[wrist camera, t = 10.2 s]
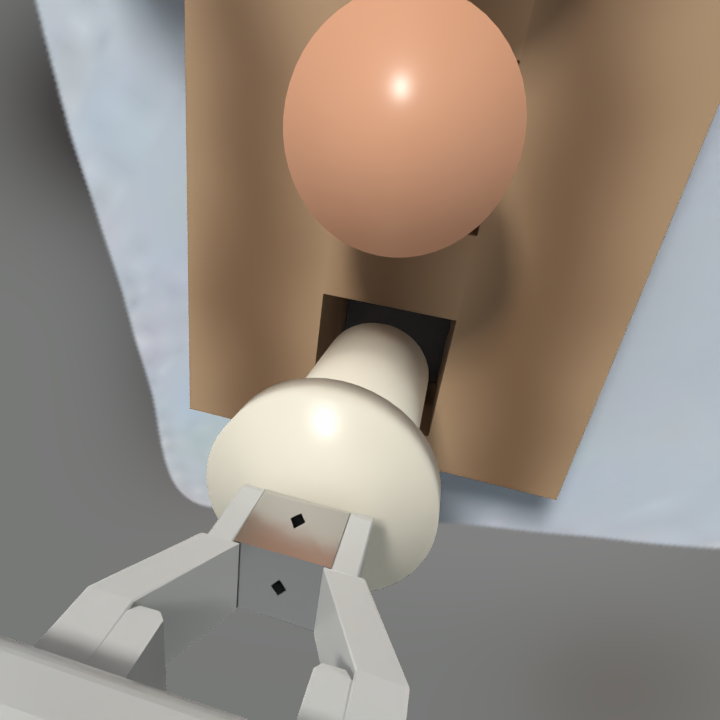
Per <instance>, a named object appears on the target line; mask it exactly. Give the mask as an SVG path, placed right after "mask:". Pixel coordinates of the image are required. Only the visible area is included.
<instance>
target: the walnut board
mask: <svg viewBox="0 0 720 720" xmlns="http://www.w3.org/2000/svg"><path fill="white" fill-rule="evenodd" d="M351 1H352V0H184V4H185V76H186V149H187V221H188V294H189V366H190V409H194V410H198V411H202V412H206V413H210V414H214V415H218V416H222V417H226V418H230V419H232V418H233V417H234V416H235V415H236V414H237V413H238V412H239V411H240V410H241V409H242V408H243V407H244V406H245V404H246V403H247V402H248V401H249V400H250V399H252V398H253V397H254V396H256V395H257V394H258V393H260V392H261V391H263V390H265V389H267V388H269V387H271V386H273V385H276V384H279V383H281V382H285V381H289V380H294V379H301V378H306V377H307V375H308V374H309V373H310V371H311V370H312V369H313V367H314V366H315V365H316V363H317V362H318V361H319V359H320V358H321V357H322V355H323V354H324V353H325V351H326V350H327V349H328V348H329V346H330V345H331V344H332V342H333V341H334V340H335V339H336V337H337V336H338V335H340V334H341V333H342V332H343V331H344V330H345V323H346V316H347V309H348V301H349V299H352V300H357V301H362V302H367V303H372V304H377V305H382V306H387V307H391V308H396V309H401V310H406V311H411V312H416V313H421V314H426V315H431V316H436V317H440V318H445V319H450V320H451V323H450V328H449V332H448V336H447V340H446V344H445V349H444V353H443V357H442V361H441V365H440V370H439V374H438V378H437V382H436V383H433V382H428V385H427V391H426V396H425V402H424V407H423V412H422V418H421V423H420V430H421V432H422V433H423V435H424V436H425V438H426V439H427V441H428V442H429V444H430V446H431V448H432V451H433V453H434V455H435V457H436V460H437V464H438V467H439V471H442V472H446V473H450V474H454V475H458V476H462V477H466V478H470V479H474V480H478V481H482V482H486V483H490V484H494V485H498V486H502V487H506V488H510V489H514V490H518V491H522V492H526V493H530V494H534V495H538V496H542V497H546V498H550V499H554V500H556V499H557V497H558V494H559V492H560V490H561V487H562V485H563V482H564V480H565V477H566V475H567V472H568V470H569V468H570V465H571V463H572V460H573V458H574V455H575V453H576V451H577V448H578V446H579V443H580V441H581V438H582V436H583V434H584V431H585V429H586V426H587V424H588V421H589V419H590V417H591V414H592V412H593V409H594V407H595V404H596V402H597V400H598V397H599V395H600V392H601V390H602V387H603V385H604V383H605V380H606V378H607V375H608V373H609V370H610V368H611V366H612V363H613V361H614V358H615V356H616V353H617V351H618V348H619V346H620V344H621V341H622V339H623V336H624V334H625V331H626V329H627V327H628V324H629V322H630V319H631V317H632V314H633V312H634V310H635V307H636V305H637V302H638V300H639V297H640V295H641V293H642V290H643V288H644V285H645V283H646V280H647V278H648V276H649V273H650V271H651V268H652V266H653V263H654V261H655V259H656V256H657V254H658V251H659V249H660V246H661V244H662V241H663V239H664V237H665V234H666V232H667V229H668V227H669V224H670V222H671V220H672V217H673V215H674V212H675V210H676V207H677V205H678V203H679V200H680V198H681V195H682V193H683V190H684V188H685V186H686V183H687V181H688V178H689V176H690V173H691V171H692V169H693V166H694V164H695V161H696V159H697V156H698V154H699V152H700V149H701V147H702V144H703V142H704V139H705V137H706V135H707V132H708V130H709V127H710V125H711V122H712V120H713V117H714V115H715V113H716V110H717V108H718V105H719V103H720V0H467V1H469V2H471V3H472V4H474V5H475V6H476V7H477V8H479V9H480V10H481V11H482V12H484V13H485V14H486V15H487V16H488V17H489V18H490V19H491V20H492V22H493V23H494V24H495V25H496V26H497V27H498V28H499V30H500V31H501V33H502V34H503V36H504V37H505V39H506V40H507V42H508V43H509V45H510V47H511V49H512V51H513V53H514V56H515V58H516V60H517V62H518V66H519V69H520V72H521V75H522V78H523V83H524V89H525V95H526V108H527V122H526V135H525V140H524V145H523V150H522V155H521V158H520V161H519V164H518V167H517V170H516V173H515V175H514V177H513V179H512V181H511V183H510V185H509V188H508V189H507V191H506V192H505V194H504V196H503V197H502V199H501V201H500V202H499V203H498V205H497V206H496V207H495V208H494V210H493V211H492V212H491V213H490V215H489V216H488V217H487V218H486V219H485V220H484V221H483V222H482V223H481V224H480V225H479V226H478V227H477V228H475V229H474V230H473V231H472V232H470V233H469V234H468V235H466V236H465V237H464V238H462V239H460V240H459V241H457V242H455V243H453V244H452V245H450V246H448V247H445V248H443V249H441V250H438V251H436V252H432V253H429V254H425V255H421V256H414V257H403V258H392V257H384V256H377V255H374V254H370V253H366V252H363V251H361V250H358V249H356V248H353V247H351V246H349V245H348V244H346V243H344V242H342V241H341V240H339V239H338V238H336V237H335V236H334V235H332V234H331V233H330V232H328V231H327V230H326V229H325V228H324V227H323V226H322V225H321V224H320V223H319V222H318V221H317V220H316V219H315V217H314V216H313V215H312V214H311V212H310V211H309V210H308V208H307V207H306V205H305V204H304V202H303V200H302V199H301V197H300V195H299V193H298V191H297V189H296V187H295V185H294V183H293V180H292V177H291V174H290V171H289V168H288V164H287V159H286V155H285V149H284V139H283V115H284V107H285V99H286V95H287V91H288V87H289V83H290V80H291V77H292V75H293V72H294V69H295V66H296V64H297V62H298V60H299V58H300V56H301V54H302V52H303V50H304V49H305V47H306V46H307V44H308V43H309V41H310V40H311V38H312V37H313V35H314V34H315V33H316V32H317V31H318V30H319V28H320V27H321V26H322V25H323V24H324V23H325V21H327V20H328V19H329V18H330V17H331V16H332V15H333V14H334V13H336V12H337V11H338V10H339V9H340V8H342V7H343V6H345V5H346V4H348V3H349V2H351Z"/></svg>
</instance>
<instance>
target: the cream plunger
mask: <svg viewBox="0 0 720 720" xmlns="http://www.w3.org/2000/svg"><path fill="white" fill-rule="evenodd" d="M428 379H429V371H428V365H427V361H426V358H425V356H424V354H423V352H422V350H421V349H420V347H419V346H418V344H417V343H416V342H415V341H414V340H413V339H412V338H411V337H410V336H409V335H407V334H406V333H405V332H403V331H401V330H399V329H398V328H395V327H393V326H390V325H386V324H381V323H363V324H359V325H355V326H353V327H350V328H348V329H347V330H345V331H343V332H342V333H341V334H340V335H338V336H337V337H336V339H335V340H334V341H333V342H332V344H331V345H330V346H329V348H328V349H327V350H326V351H325V353H324V354H323V355H322V357H321V358H320V359H319V361H318V362H317V363H316V365H315V366H314V367H313V369H312V370H311V371H310V373H309V374H308V375H307V377H306V378H301V379H294V380H289V381H285V382H281V383H279V384H276V385H273V386H271V387H269V388H267V389H265V390H263V391H261V392H260V393H258V394H257V395H256V396H254V397H253V398H252V399H250V400H249V401H248V402H247V403H246V404H245V406H244V407H243V408H242V409H241V410H240V411H239V412H238V413H237V414H236V415H235V416H234V417H233V418H232V420H231V421H230V422H229V423H228V424H227V425H226V426H225V427H224V428H223V429H222V431H221V432H220V434H219V435H218V437H217V438H216V440H215V442H214V444H213V446H212V449H211V451H210V454H209V459H208V463H207V474H206V476H207V488H208V492H209V497H210V501H211V503H212V506H213V509H214V512H215V514H216V515H217V517H218V519H219V518H220V516H221V515H222V513H223V512H224V511H225V509H226V508H227V506H228V505H229V504H230V502H231V501H232V499H233V498H234V496H235V495H236V494H237V492H238V491H239V489H240V488H241V487H242V486H244V485H245V484H249V485H252V486H256V487H259V488H262V489H265V490H267V489H268V490H271V491H274V492H278V493H281V494H285V495H288V496H291V497H295V498H298V499H302V500H305V501H308V502H313V503H317V504H321V505H325V506H328V507H332V508H336V509H340V510H344V511H348V512H351V513H352V512H353V513H357V514H361V515H365V516H369V517H373V519H374V521H373V526H372V531H371V536H370V541H369V546H368V551H367V555H366V560H365V565H364V570H363V574H362V578H363V579H365V580H366V582H367V585H368V587H369V590H370V592H371V591H376V590H379V589H382V588H386V587H388V586H390V585H393V584H395V583H397V582H399V581H401V580H402V579H404V578H406V577H407V576H409V575H410V574H411V573H412V572H413V571H414V570H416V569H417V568H418V567H419V566H420V564H421V563H422V562H423V561H424V560H425V558H426V557H427V555H428V553H429V552H430V550H431V548H432V546H433V543H434V541H435V538H436V534H437V528H438V523H439V511H440V499H441V478H440V471H439V467H438V464H437V460H436V457H435V455H434V453H433V451H432V448H431V446H430V444H429V442H428V441H427V439H426V438H425V436H424V435H423V433H422V432H421V430H420V423H421V418H422V412H423V407H424V402H425V396H426V391H427V385H428Z"/></svg>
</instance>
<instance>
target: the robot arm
mask: <svg viewBox="0 0 720 720" xmlns="http://www.w3.org/2000/svg"><path fill="white" fill-rule="evenodd" d="M373 521H374V519H373V517H369V516H365V515H361V514H357V513H353V512H352V513H351V512H348V511H344V510H340V509H336V508H332V507H328V506H325V505H321V504H317V503H313V502H308V501H305V500H302V499H298V498H295V497H291V496H288V495H285V494H281V493H278V492H274V491H271V490H268V489H267V490H265V489H262V488H259V487H256V486H252V485H249V484H245V485H244V486H242V487H241V488H240V489H239V491H238V492H237V494H236V495H235V496H234V498H233V499H232V501H231V502H230V504H229V505H228V506H227V508H226V509H225V511H224V512H223V513H222V515H221V516H220V518H219V519H218V521H217V522H216V524H215V525H214V526H213V528H212V529H211V530H210V532H209V533H208V534H205V533H199V534H197V535H195V536H193V537H191V538H189V539H187V540H185V541H183V542H181V543H178V544H177V545H174V546H172V547H170V548H168V549H166V550H164V551H162V552H160V553H157V554H155V555H153V556H151V557H149V558H147V559H145V560H143V561H141V562H138V563H136V564H134V565H132V566H130V567H128V568H126V569H124V570H122V571H120V572H117V573H115V574H113V575H111V576H109V577H107V578H105V579H103V580H101V581H99V582H97V583H94V584H92V585H90V586H88V587H87V588H86V589H85V590H84V592H83V593H82V594H81V595H80V596H79V597H78V598H77V599H76V600H75V602H74V603H73V604H72V605H71V606H70V607H69V608H68V609H67V610H66V612H65V613H64V614H63V615H62V616H61V617H60V618H59V619H58V620H57V621H56V622H55V624H54V625H53V626H52V627H51V628H50V629H49V630H48V631H47V632H46V634H45V635H44V636H43V637H42V638H41V639H40V640H39V641H38V642H37V643H36V645H35V646H34V647H32V646H29V645H27V644H24V643H21V642H18V641H15V640H12V639H9V638H6V637H3V636H0V720H248V719H245V718H242V717H239V716H237V715H234V714H230V713H228V712H224V711H222V710H218V709H216V708H213V707H210V706H207V705H204V704H201V703H198V702H195V701H192V700H189V699H186V698H183V697H180V696H177V695H174V694H171V693H168V692H167V691H166V690H167V689H166V668H165V665H166V664H167V663H168V662H170V661H171V660H172V659H174V658H175V657H176V656H177V655H179V654H180V653H182V652H183V651H184V650H186V649H187V648H188V647H189V646H191V645H192V644H193V643H195V642H196V641H197V640H199V639H200V638H201V637H202V636H204V635H205V634H206V633H208V632H209V631H210V630H212V629H213V628H214V627H216V626H217V625H218V624H219V623H221V622H222V621H223V620H225V619H226V618H227V617H229V616H230V615H231V614H232V613H234V612H235V611H236V608H238V609H242V610H246V611H250V612H253V613H257V614H260V615H264V616H268V617H272V618H275V619H278V620H281V621H284V622H287V623H290V624H293V625H296V626H299V627H302V628H305V629H308V630H311V631H314V638H315V643H316V647H317V652H318V657H319V661H320V665H318V666H316V667H314V668H313V671H312V674H311V677H310V680H309V683H308V687H307V690H306V693H305V696H304V699H303V702H302V705H301V708H300V711H299V715H298V718H297V720H406V719H407V710H408V700H409V691H410V688H409V685H408V683H407V680H406V678H405V675H404V673H403V671H402V668H401V666H400V663H399V661H398V658H397V656H396V653H395V651H394V648H393V646H392V644H391V641H390V639H389V636H388V634H387V631H386V629H385V626H384V624H383V622H382V619H381V616H380V614H379V612H378V609H377V607H376V604H375V602H374V599H373V597H372V594H371V592H370V590H369V587H368V585H367V582H366V580H365V579H363V578H362V574H363V570H364V565H365V560H366V555H367V551H368V546H369V541H370V536H371V531H372V526H373Z"/></svg>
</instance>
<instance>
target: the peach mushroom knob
mask: <svg viewBox="0 0 720 720" xmlns="http://www.w3.org/2000/svg"><path fill="white" fill-rule="evenodd" d="M526 122H527V108H526V95H525V89H524V83H523V78H522V75H521V72H520V69H519V66H518V62H517V60H516V58H515V56H514V53H513V51H512V49H511V47H510V45H509V43H508V42H507V40H506V39H505V37H504V36H503V34H502V33H501V31H500V30H499V28H498V27H497V26H496V25H495V24H494V23H493V22H492V20H491V19H490V18H489V17H488V16H487V15H486V14H485V13H484V12H482V11H481V10H480V9H479V8H477V7H476V6H475V5H474V4H472V3H471V2H469V1H467V0H352V1H351V2H349V3H348V4H346V5H345V6H343V7H342V8H340V9H339V10H338V11H337V12H336V13H334V14H333V15H332V16H331V17H330V18H329V19H328V20H327V21H325V23H324V24H323V25H322V26H321V27H320V28H319V30H318V31H317V32H316V33H315V34H314V35H313V37H312V38H311V40H310V41H309V43H308V44H307V46H306V47H305V49H304V50H303V52H302V54H301V56H300V58H299V60H298V62H297V64H296V66H295V69H294V72H293V75H292V77H291V80H290V83H289V87H288V91H287V95H286V99H285V107H284V115H283V139H284V149H285V155H286V159H287V164H288V168H289V171H290V174H291V177H292V180H293V183H294V185H295V187H296V189H297V191H298V193H299V195H300V197H301V199H302V200H303V202H304V204H305V205H306V207H307V208H308V210H309V211H310V212H311V214H312V215H313V216H314V217H315V219H316V220H317V221H318V222H319V223H320V224H321V225H322V226H323V227H324V228H325V229H326V230H327V231H328V232H330V233H331V234H332V235H334V236H335V237H336V238H338V239H339V240H341V241H342V242H344V243H346V244H348V245H349V246H351V247H353V248H356V249H358V250H361V251H363V252H366V253H370V254H374V255H377V256H384V257H392V258H403V257H414V256H421V255H425V254H429V253H432V252H436V251H438V250H441V249H443V248H445V247H448V246H450V245H452V244H453V243H455V242H457V241H459V240H460V239H462V238H464V237H465V236H466V235H468V234H469V233H470V232H472V231H473V230H474V229H475V228H477V227H478V226H479V225H480V224H481V223H482V222H483V221H484V220H485V219H486V218H487V217H488V216H489V215H490V213H491V212H492V211H493V210H494V208H495V207H496V206H497V205H498V203H499V202H500V201H501V199H502V197H503V196H504V194H505V192H506V191H507V189H508V188H509V185H510V183H511V181H512V179H513V177H514V175H515V173H516V170H517V167H518V164H519V161H520V158H521V155H522V150H523V145H524V140H525V135H526Z"/></svg>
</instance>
